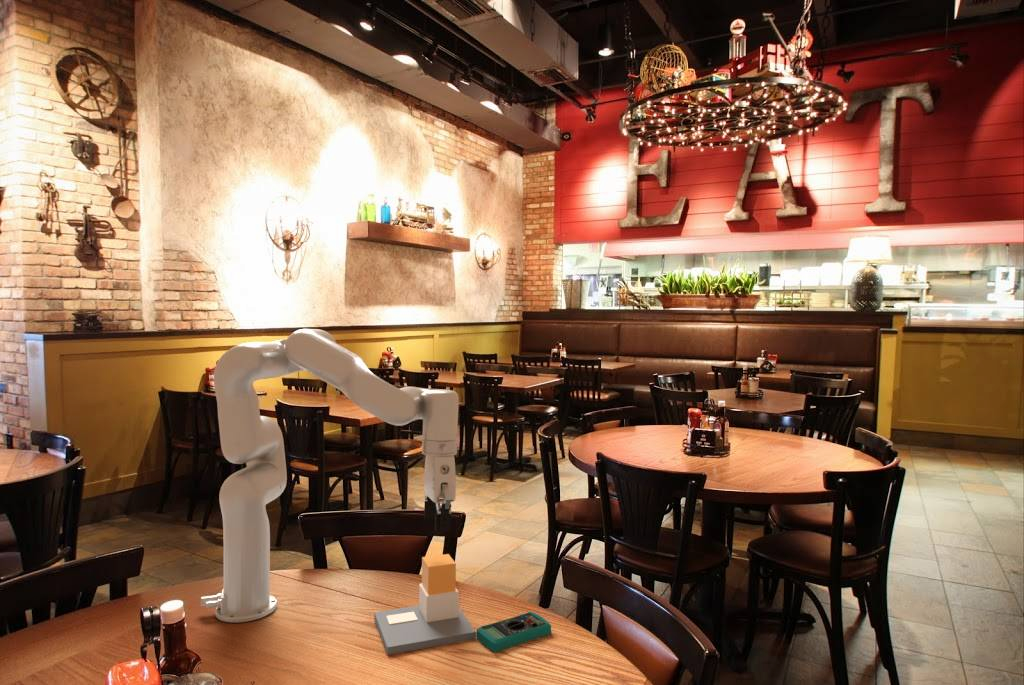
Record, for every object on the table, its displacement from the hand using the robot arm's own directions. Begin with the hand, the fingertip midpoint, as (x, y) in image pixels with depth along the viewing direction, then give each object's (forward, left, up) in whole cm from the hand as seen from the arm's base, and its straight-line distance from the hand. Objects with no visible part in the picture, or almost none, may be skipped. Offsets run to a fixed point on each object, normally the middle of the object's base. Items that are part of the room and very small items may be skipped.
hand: (436, 525), depth 134 cm
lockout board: (-3, -3, -21) cm, 21 cm away
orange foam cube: (0, 0, -14) cm, 14 cm away
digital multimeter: (+13, -13, -21) cm, 28 cm away
